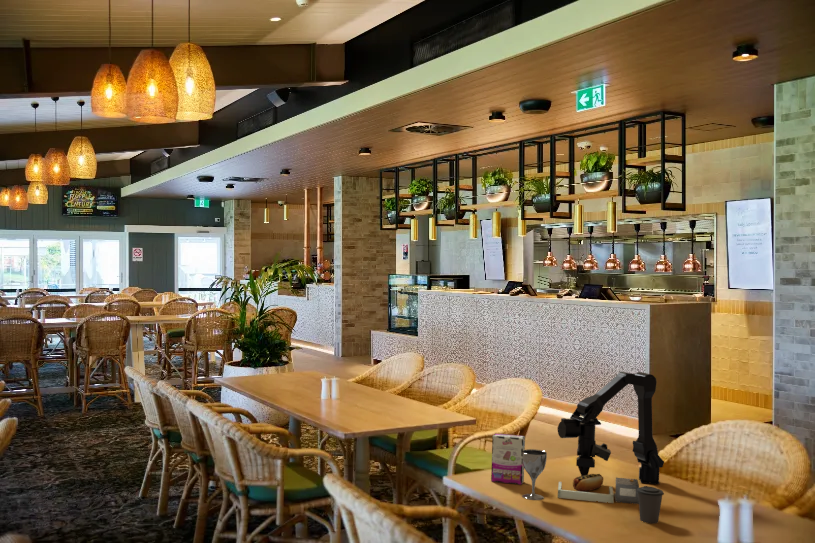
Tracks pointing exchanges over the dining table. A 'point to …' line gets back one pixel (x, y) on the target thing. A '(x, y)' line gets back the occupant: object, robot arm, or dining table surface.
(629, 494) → the box
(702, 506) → the dining table surface
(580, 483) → the hot dog
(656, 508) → the coffee cup
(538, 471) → the wine glass
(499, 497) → the dining table surface
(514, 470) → the candy bar box
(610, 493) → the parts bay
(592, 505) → the dining table surface
